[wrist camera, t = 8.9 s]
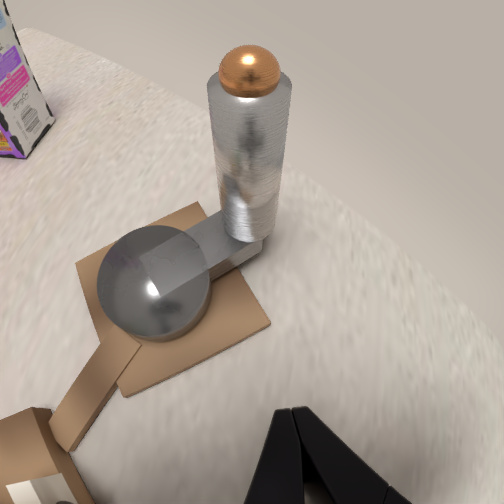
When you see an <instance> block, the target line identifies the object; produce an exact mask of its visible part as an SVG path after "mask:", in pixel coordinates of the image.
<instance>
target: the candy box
mask: <svg viewBox="0 0 504 504" xmlns="http://www.w3.org/2000/svg"><path fill="white" fill-rule="evenodd" d="M54 121H55V119H54V117H53V115H52V113H51V111H50V109H49V107H48V105H47V103H46V101H45V99H44V97H43V95H42V93H41V91H40V88H39V86H38V84H37V82H36V80H35V78H34V75H33V73H32V71H31V69H30V66H29V64H28V62H27V59H26V57H25V55H24V52H23V50H22V47H21V45H20V42H19V40H18V37H17V35H16V32H15V29H14V27H13V24H12V22H11V18H10V16H9V13H8V10H7V7H6V4H5V1H4V0H0V157H15V158H26V157H27V155H28V154H29V153H30V151H31V150H32V149H33V148H34V146H35V145H36V144H37V142H38V141H39V139H40V138H41V137H42V136H43V135H44V133H45V132H46V131H47V130H48V129H49V127H50V126H51V125H52V124H53V123H54Z"/></svg>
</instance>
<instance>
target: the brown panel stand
mask: <svg viewBox="0 0 504 504" xmlns="http://www.w3.org/2000/svg"><path fill="white" fill-rule="evenodd" d="M206 218H207V216H206V214H205V213H204V211H203V209H202V208H201V206H200V204H199V202H198V201H197V202H195V203H193V204H191V205H189V206H186V207H184V208H182V209H180V210H178V211H176V212H174V213H172V214H170V215H168V216H165V217H163V218H161V219H159V220H157V221H155V222H153V223H151V224H149V225H147V226H152V225H163V226H170V227H174V228H177V229H179V230H181V231H185V230H187V229H188V228H190V227H192V226H194V225H196V224H197V223H199V222H201V221H203V220H205V219H206ZM145 227H146V226H145ZM117 241H118V240H117ZM117 241H115V242H114V243H112V244H110V245H108V246H106V247H104V248H102V249H100V250H98V251H96V252H95V253H93V254H91V255H89V256H87V257H85V258H83V259H82V260H80V261H78V262H76V263H75V264H76V268H77V272H78V275H79V279H80V282H81V286H82V289H83V293H84V296H85V299H86V302H87V305H88V308H89V312H90V315H91V318H92V320H93V323H94V326H95V329H96V332H97V335H98V337H99V340H100V343H101V344H100V345H99V347H98V348H97V349H96V351H95V352H94V354H93V355H92V357H91V358H90V359H89V361H88V362H87V364H86V365H85V367H84V368H83V370H82V371H81V373H80V374H79V376H78V377H77V379H76V380H75V382H74V383H73V385H72V386H71V388H70V389H69V391H68V392H67V394H66V395H65V397H64V398H63V400H62V401H61V403H60V404H59V406H58V407H57V409H56V411H55V412H54V414H53V415H52V413H51V410H50V409H46V408H35V407H30V408H28V409H26V410H23V411H21V412H19V413H16V414H14V415H11V416H9V417H6V418H4V419H2V420H0V504H95V502H94V501H93V499H92V497H91V495H90V494H89V492H88V490H87V488H86V487H85V485H84V483H83V481H82V479H81V477H80V475H79V473H78V471H77V469H76V467H75V465H74V463H73V461H72V459H71V457H70V455H69V453H68V452H72V451H74V450H75V449H76V447H77V446H78V444H79V443H80V441H81V440H82V438H83V437H84V435H85V434H86V432H87V431H88V429H89V428H90V426H91V425H92V423H93V422H94V420H95V419H96V417H97V416H98V414H99V413H100V412H101V410H102V409H103V407H104V406H105V404H106V403H107V401H108V400H109V398H110V397H111V396H112V394H113V393H114V391H115V390H116V388H117V387H119V389H120V392H121V394H122V396H123V397H125V398H128V397H130V396H132V395H134V394H136V393H139V392H141V391H143V390H145V389H147V388H149V387H152V386H154V385H156V384H158V383H160V382H162V381H164V380H166V379H168V378H170V377H173V376H175V375H177V374H179V373H181V372H183V371H185V370H187V369H189V368H191V367H193V366H195V365H197V364H199V363H201V362H203V361H205V360H207V359H209V358H210V357H212V356H214V355H216V354H218V353H220V352H222V351H224V350H226V349H228V348H230V347H231V346H233V345H235V344H237V343H239V342H241V341H243V340H244V339H246V338H248V337H250V336H252V335H254V334H255V333H257V332H259V331H261V330H263V329H264V328H266V327H268V326H270V324H271V322H270V320H269V319H268V317H267V316H266V314H265V312H264V311H263V309H262V307H261V306H260V304H259V303H258V301H257V299H256V298H255V296H254V294H253V293H252V291H251V289H250V288H249V286H248V284H247V283H246V281H245V280H244V278H243V276H242V275H241V273H240V271H239V270H238V268H237V266H236V267H234V268H233V269H231V270H229V271H228V272H226V273H224V274H223V275H221V276H219V277H218V278H216V279H214V280H213V281H211V283H212V290H211V297H210V301H209V304H208V307H207V309H206V311H205V313H204V314H203V316H202V318H201V319H200V320H199V321H198V323H197V324H196V325H195V326H194V327H193V328H191V329H190V330H189V331H187V332H186V333H185V334H183V335H181V336H179V337H177V338H174V339H171V340H167V341H160V342H152V341H145V340H141V339H138V338H136V337H134V336H132V335H130V334H129V333H127V332H125V331H124V330H122V329H121V328H119V327H118V326H117V325H115V324H114V323H113V322H112V321H111V320H110V319H109V318H108V317H107V315H106V314H105V313H104V311H103V309H102V307H101V305H100V302H99V299H98V295H97V276H98V271H99V268H100V265H101V263H102V261H103V259H104V257H105V255H106V254H107V252H108V251H109V249H110V248H111V247H112V246H113V245H114V244H115V243H116V242H117Z"/></svg>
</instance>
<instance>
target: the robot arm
mask: <svg viewBox="0 0 504 504" xmlns="http://www.w3.org/2000/svg"><path fill="white" fill-rule="evenodd" d="M388 486H389V484H388V483H387V482H386V481H385V480H384V479H383V478H382V477H380V476H379V475H378V474H377V473H376V472H375V471H374V470H373V469H372V468H371V467H369V466H368V465H367V464H366V463H365V462H364V461H363V460H362V459H361V458H360V457H359V456H358V455H357V454H355V453H354V452H353V451H352V450H351V449H350V448H349V447H348V446H347V445H346V444H345V443H344V442H343V441H342V440H341V439H340V438H339V437H338V436H337V435H336V434H335V433H334V432H333V431H332V430H331V429H330V428H329V427H327V426H326V425H325V424H324V423H323V422H322V421H321V420H320V419H319V418H318V417H317V416H316V415H315V414H314V413H313V412H312V411H311V410H310V409H309V408H308V407H307V406H301V407H294V408H292V409H290V408H285V409H277V410H275V412H274V415H273V418H272V421H271V424H270V428H269V431H268V434H267V437H266V440H265V443H264V446H263V449H262V453H261V456H260V459H259V462H258V464H257V467H256V470H255V473H254V476H253V479H252V482H251V485H250V488H249V490H248V493H247V496H246V499H245V501H244V504H412V503H411V502H410V501H408V500H407V499H406V498H405V497H403V496H402V495H401V494H400V493H399V492H397V491H396V490H395V489H394V488H393V487H392V486H389V487H388Z"/></svg>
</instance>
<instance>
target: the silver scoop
mask: <svg viewBox="0 0 504 504" xmlns="http://www.w3.org/2000/svg"><path fill="white" fill-rule="evenodd" d="M291 90H292V84H291V81H290V79H289V78H288V77H287V76H286V75H285V74H284V73H282V72H281V71H280V66H279V63H278V61H277V59H276V58H275V57H274V55H273V54H272V53H271V52H269V51H268V50H266V49H264V48H262V47H260V46H256V45H243V46H240V47H237V48H234V49H233V50H231V51H230V52H229V53H227V54H226V56H225V57H224V58H223V59H222V61H221V63H220V66H219V71H218V72H216V73H215V74H214V75H212V77H211V78H210V79H209V81H208V83H207V92H208V101H209V110H210V120H211V129H212V137H213V146H214V155H215V163H216V172H217V180H218V188H219V196H220V204H221V211H219V212H217V213H215V214H214V215H212V216H210V217H208V218H206V219H205V220H203V221H201V222H199V223H197V224H196V225H194V226H192V227H190V228H188V229H187V230H185V231H181V230H179V229H177V228H174V227H170V226H163V225H152V226H146V227H142V228H139V229H136V230H134V231H132V232H130V233H128V234H126V235H125V236H123V237H122V238H120V239H119V240H118V241H117V242H116V243H115V244H114V245H113V246H112V247H111V248H110V249H109V251H108V252H107V254H106V255H105V257H104V259H103V261H102V263H101V265H100V268H99V271H98V276H97V295H98V299H99V302H100V305H101V307H102V309H103V311H104V313H105V314H106V315H107V317H108V318H109V319H110V320H111V321H112V322H113V323H114V324H115V325H117V326H118V327H119V328H121V329H122V330H124V331H125V332H127V333H129V334H130V335H132V336H134V337H136V338H138V339H141V340H145V341H152V342H160V341H167V340H171V339H174V338H177V337H179V336H181V335H183V334H185V333H186V332H187V331H189V330H190V329H191V328H193V327H194V326H195V325H196V324H197V323H198V321H199V320H200V319H201V318H202V316H203V314H204V313H205V311H206V309H207V307H208V304H209V301H210V297H211V290H212V283H211V281H213V280H214V279H216V278H218V277H219V276H221V275H223V274H224V273H226V272H228V271H229V270H231V269H233V268H234V267H236V266H238V265H239V264H241V263H243V262H244V261H246V260H248V259H249V258H251V257H253V256H254V255H256V254H257V253H259V252H261V251H262V245H263V238H265V237H266V236H268V235H269V234H270V233H271V231H272V230H273V228H274V226H275V220H276V213H277V205H278V197H279V190H280V182H281V174H282V166H283V158H284V149H285V141H286V133H287V125H288V116H289V107H290V99H291Z"/></svg>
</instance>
